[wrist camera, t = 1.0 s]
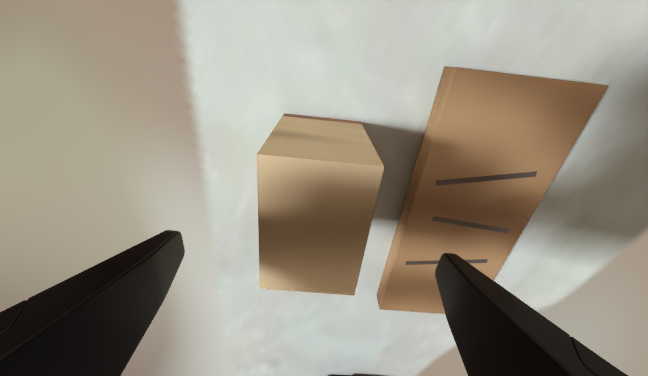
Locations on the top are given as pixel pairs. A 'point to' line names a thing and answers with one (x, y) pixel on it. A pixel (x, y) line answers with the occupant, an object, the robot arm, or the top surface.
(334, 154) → the block
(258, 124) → the top surface
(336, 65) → the top surface
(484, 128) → the board
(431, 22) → the top surface
